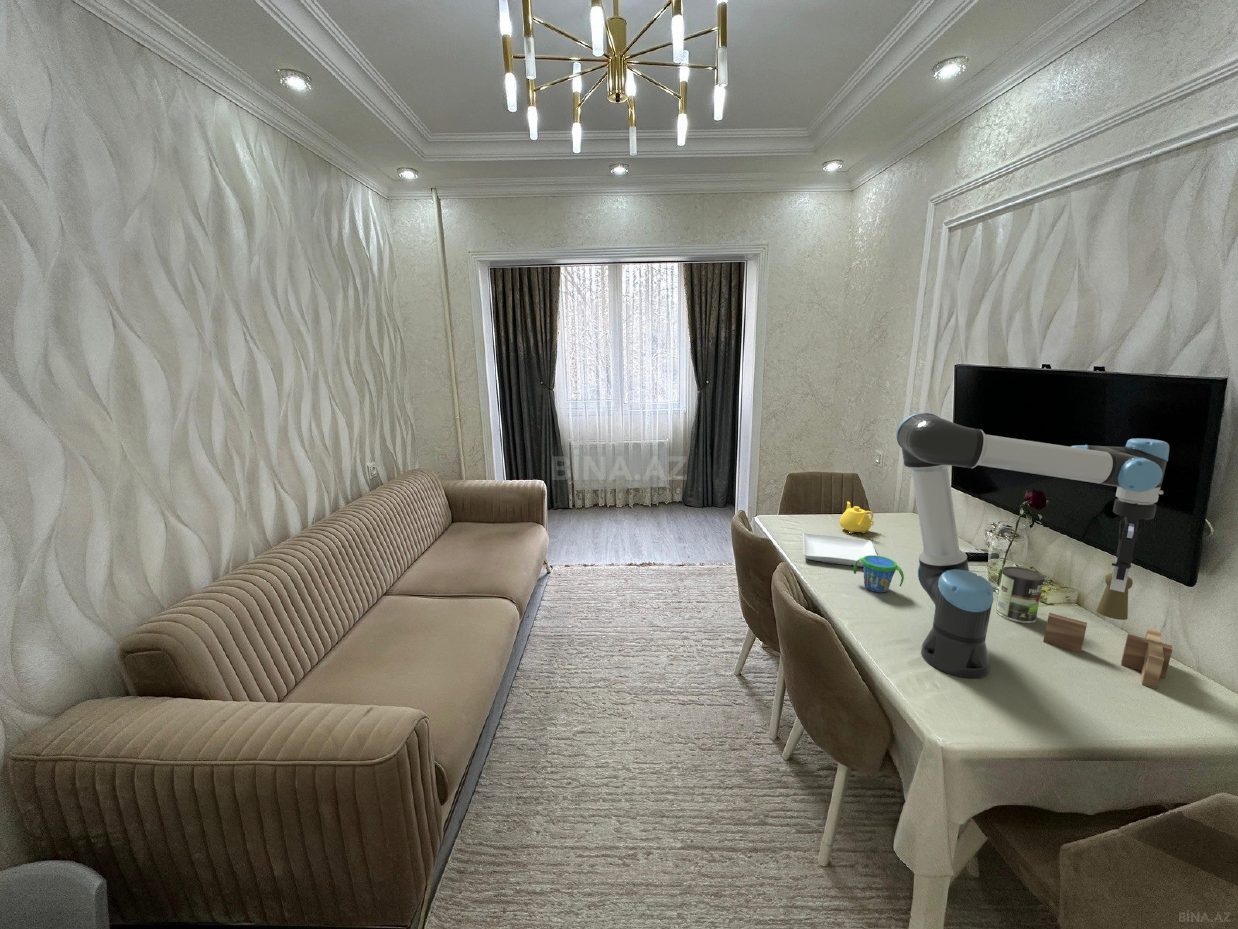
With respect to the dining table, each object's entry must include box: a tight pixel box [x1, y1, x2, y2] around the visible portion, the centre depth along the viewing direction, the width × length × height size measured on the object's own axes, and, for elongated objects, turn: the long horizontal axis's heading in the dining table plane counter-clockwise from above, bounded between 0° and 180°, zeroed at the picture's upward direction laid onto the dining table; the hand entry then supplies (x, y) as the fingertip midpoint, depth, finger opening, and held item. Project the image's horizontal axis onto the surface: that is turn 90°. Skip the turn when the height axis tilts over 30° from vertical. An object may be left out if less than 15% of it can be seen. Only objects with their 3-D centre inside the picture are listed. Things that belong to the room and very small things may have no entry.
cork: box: [1095, 572, 1134, 621], centre depth 135 cm, size 6×6×11 cm
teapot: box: [839, 501, 875, 534], centre depth 235 cm, size 20×15×12 cm
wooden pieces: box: [1043, 612, 1173, 690], centre depth 138 cm, size 18×24×8 cm
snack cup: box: [852, 555, 905, 594], centre depth 177 cm, size 16×10×10 cm
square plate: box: [802, 532, 878, 568], centre depth 208 cm, size 27×27×4 cm
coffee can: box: [995, 566, 1045, 624], centre depth 160 cm, size 10×10×14 cm
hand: (1117, 586), depth 135 cm, fingers closed on cork, 5 cm apart
